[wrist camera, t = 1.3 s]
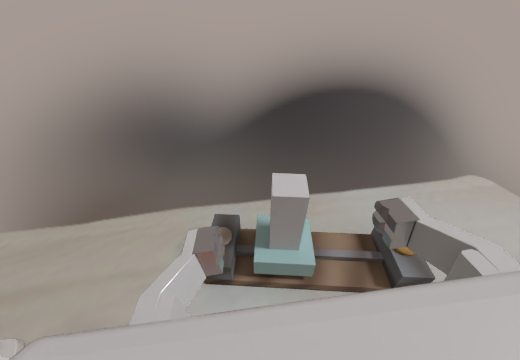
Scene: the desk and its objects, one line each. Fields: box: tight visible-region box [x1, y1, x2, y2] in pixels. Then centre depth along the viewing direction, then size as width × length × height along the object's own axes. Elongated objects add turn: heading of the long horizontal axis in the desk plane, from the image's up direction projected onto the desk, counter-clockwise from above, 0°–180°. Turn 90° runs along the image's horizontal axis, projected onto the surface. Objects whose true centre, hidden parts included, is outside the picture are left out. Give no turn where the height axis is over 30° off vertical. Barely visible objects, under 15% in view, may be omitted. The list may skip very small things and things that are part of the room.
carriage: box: [254, 173, 316, 277], centre depth 29 cm, size 8×8×13 cm
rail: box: [205, 214, 435, 292], centre depth 33 cm, size 30×9×6 cm, turn 87°
